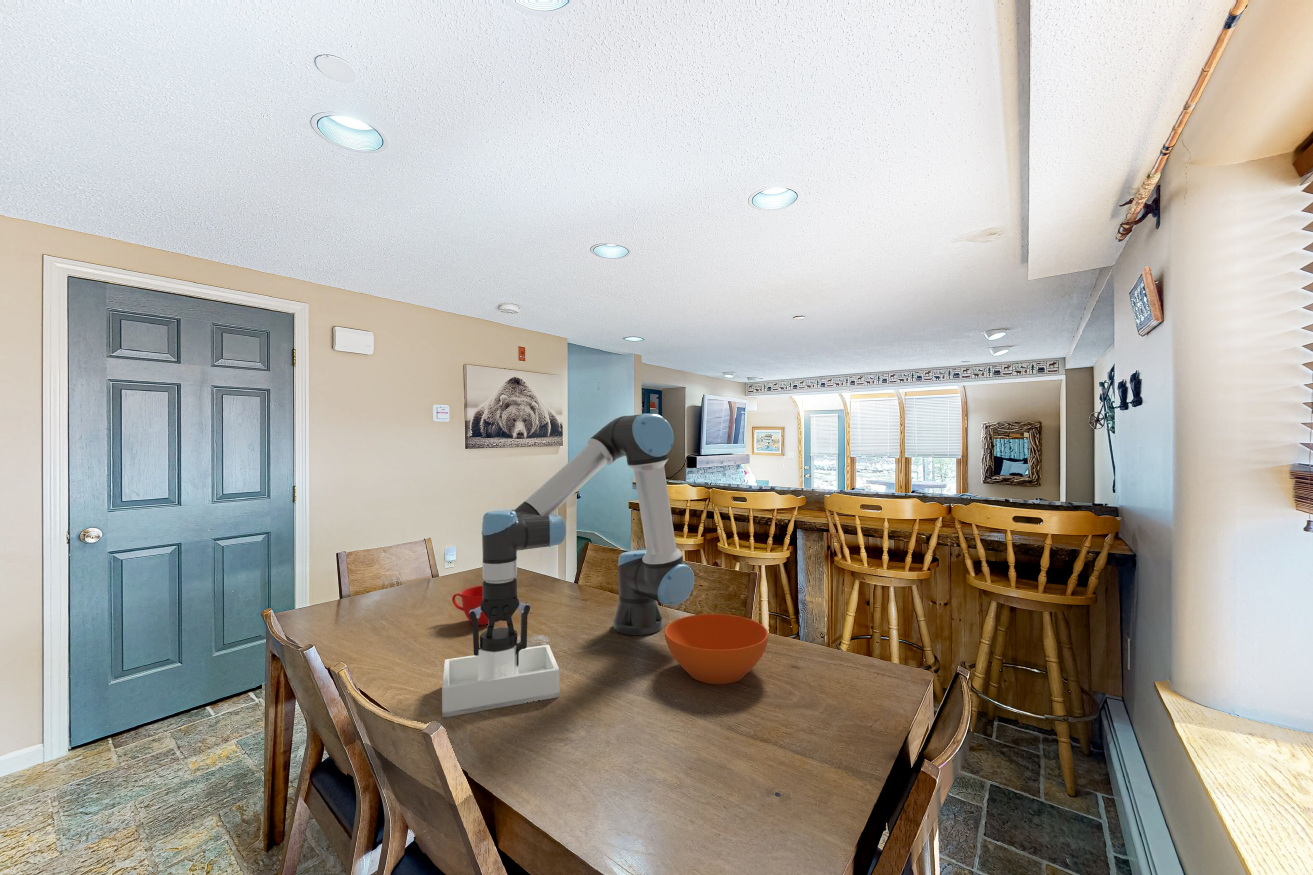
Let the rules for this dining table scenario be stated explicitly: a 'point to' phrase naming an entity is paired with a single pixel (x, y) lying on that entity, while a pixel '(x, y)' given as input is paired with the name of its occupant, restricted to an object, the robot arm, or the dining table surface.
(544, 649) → the bin
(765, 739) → the dining table surface
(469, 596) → the ceramic cup
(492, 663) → the jar
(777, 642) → the dining table surface
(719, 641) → the bowl
